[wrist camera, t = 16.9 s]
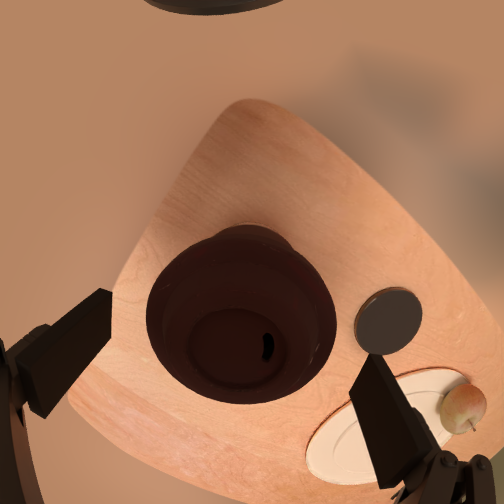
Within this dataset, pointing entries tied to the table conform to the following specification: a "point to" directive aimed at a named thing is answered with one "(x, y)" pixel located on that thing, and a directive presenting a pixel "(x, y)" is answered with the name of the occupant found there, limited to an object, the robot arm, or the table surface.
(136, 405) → the table surface
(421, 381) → the plate
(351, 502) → the table surface
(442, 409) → the fruit
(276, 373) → the coffee cup
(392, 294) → the slate coaster
